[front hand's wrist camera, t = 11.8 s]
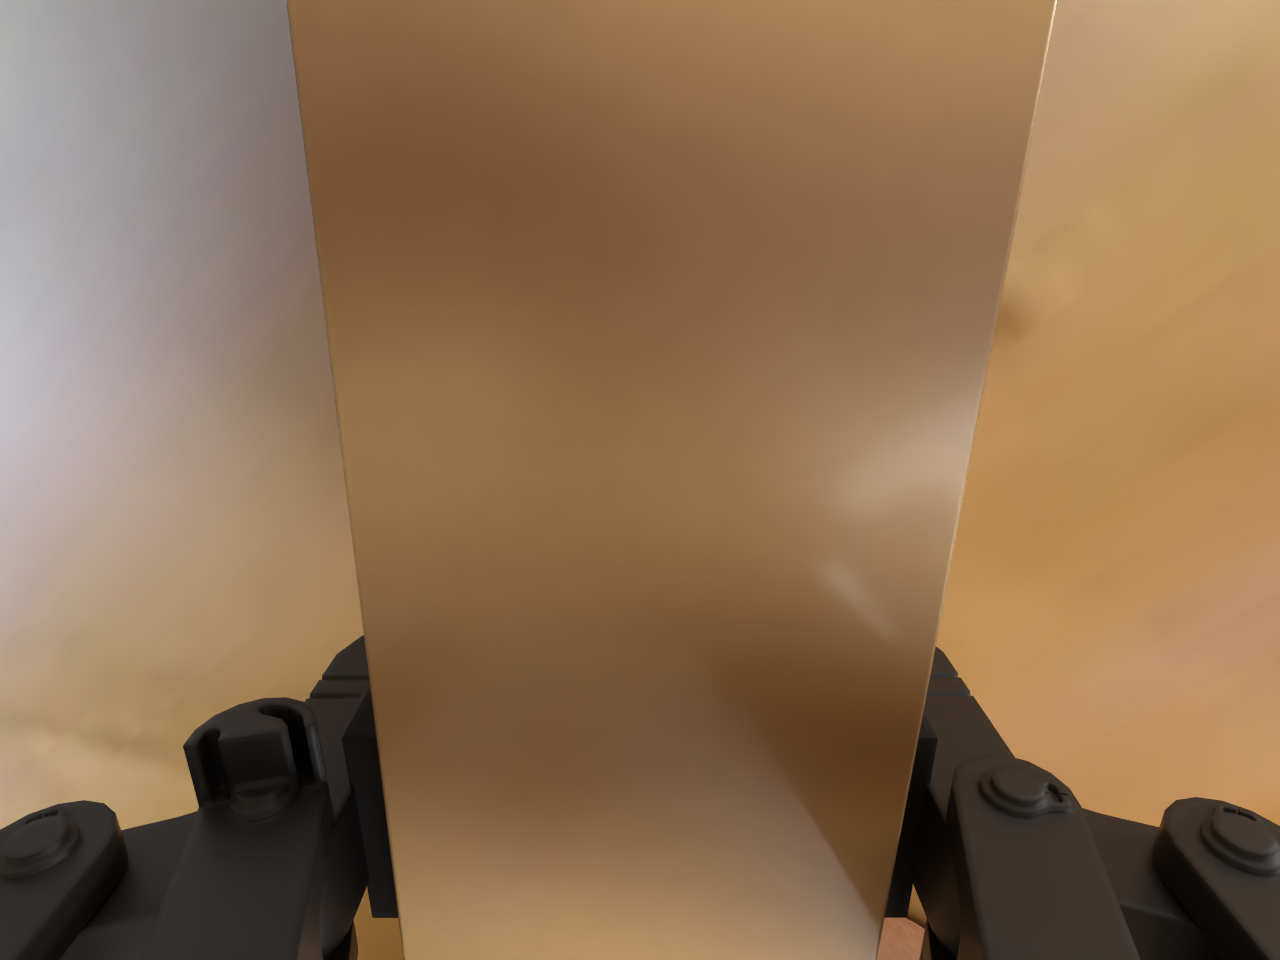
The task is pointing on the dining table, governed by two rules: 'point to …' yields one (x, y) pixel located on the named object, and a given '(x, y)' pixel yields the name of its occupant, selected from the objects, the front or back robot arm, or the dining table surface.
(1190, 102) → the dining table surface
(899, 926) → the stone
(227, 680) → the dining table surface
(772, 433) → the beam
